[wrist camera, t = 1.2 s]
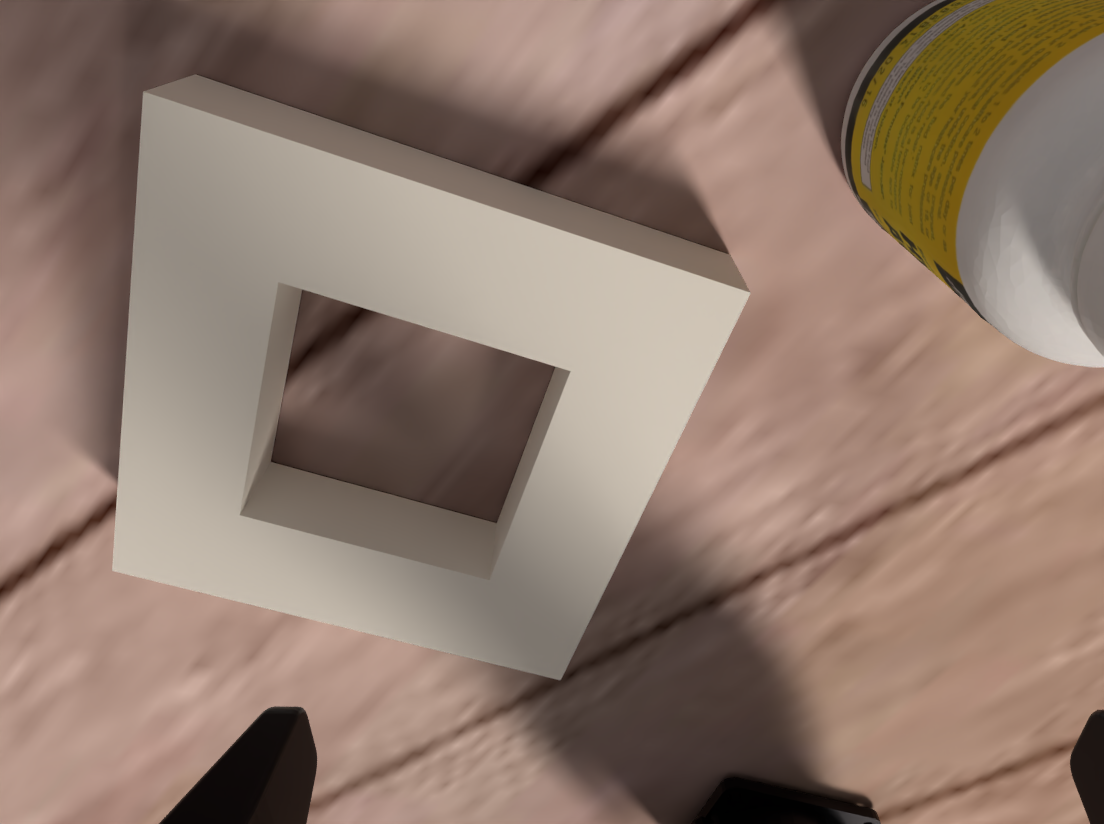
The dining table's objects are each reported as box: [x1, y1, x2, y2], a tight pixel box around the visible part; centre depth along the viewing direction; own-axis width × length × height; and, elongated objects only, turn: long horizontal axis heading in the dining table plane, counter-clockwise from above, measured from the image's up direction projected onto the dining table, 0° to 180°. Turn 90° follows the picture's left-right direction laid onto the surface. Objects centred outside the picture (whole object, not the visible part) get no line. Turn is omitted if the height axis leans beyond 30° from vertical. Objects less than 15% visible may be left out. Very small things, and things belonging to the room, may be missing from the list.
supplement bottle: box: [841, 0, 1104, 367], centre depth 14 cm, size 5×5×10 cm
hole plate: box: [112, 74, 751, 680], centre depth 21 cm, size 13×13×2 cm
